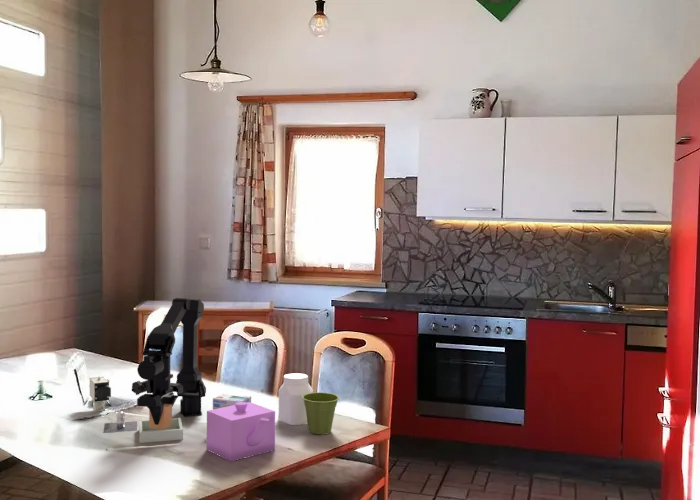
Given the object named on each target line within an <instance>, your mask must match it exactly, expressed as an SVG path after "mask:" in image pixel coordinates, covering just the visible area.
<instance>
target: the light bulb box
mask: <svg viewBox="0 0 700 500" xmlns="http://www.w3.org/2000/svg"><path fill="white" fill-rule="evenodd" d="M238 402H245V403H248V402H251V403H252V397H251V396H247V395H235V394H234V395H233V394H228V393H227V394H225V393H221V394H219V395H217V396H215V397H212V410H214V409H218V408H223V407H228V406H233V405H235V403H238Z"/></svg>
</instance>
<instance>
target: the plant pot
mask: <svg viewBox="0 0 700 500" xmlns="http://www.w3.org/2000/svg"><path fill="white" fill-rule="evenodd" d="M302 399H304V405H305V408H306V416H307V424H306V425H307V431H308V433H311V434H312V433H313V435H316V434H318V435H321V434H323V435H327V433H328V434H329V432H330V433H331V431H332V427H333V423H334V416H335V413H336V412H335V410H336V407H337V404H338V401H339V400H340V396H339V395H337V394H334V393H331V392H321V391H320V392H318V391H317V392H313V393H308V394H305V395H303V396H302Z"/></svg>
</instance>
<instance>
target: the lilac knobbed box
mask: <svg viewBox="0 0 700 500" xmlns="http://www.w3.org/2000/svg"><path fill="white" fill-rule="evenodd" d="M206 450H207V451H208V450H210V451H212V452H214V453H216V454H218V455H220V456H222V457H224V458H226V459H225V460H227V459H228V460H227V461H229V460H230V461H229V462H231V461H232V462H234V461H233V460H236V461H238V460H237V459H240V458H243V459H245V458H244V457H247V458H249V457H248V456H251V457H253V456H252V455H255V456H257V455H256V454H258V455H260V454H259V453H262V454H265V453H264V452H266V453H268V452H267V451H269V452H272V451H271V450H273V451H276V410H273V409H270V408H267V407H264V406H262V405H259V404H257V403H253V402H252V401H251V402H248V403H245V402H238V403H235V405H233V406H228V407H223V408H218V409H214V410H213V409H209V410H207V411H206ZM210 451H209V452H210ZM212 452H211V453H212ZM214 453H213V454H214ZM216 454H215V455H216ZM218 455H217V456H218ZM220 456H219V457H220ZM222 457H221V458H222ZM224 458H223V459H224ZM240 460H241V459H240Z"/></svg>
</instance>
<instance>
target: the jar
mask: <svg viewBox="0 0 700 500" xmlns="http://www.w3.org/2000/svg"><path fill="white" fill-rule="evenodd" d="M308 393H314V390H313V387H312V386H311V385H310V383H309V376H308V375H307V374H305V373H297V372H296V373H293V372H292V373H287V374H286V373H285V374H284V375H283V383H282V385H281V386H280V388H279V389H278V393H277V394H278V415H277V416H278V417H277V420H278V421H279V422H283V423H285V424H288V425H289V426H302V425H301V424H303V425H307V424H306V423H307V416H306V408H305V405H304V399H302V396H303V395H305V394H308Z"/></svg>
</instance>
